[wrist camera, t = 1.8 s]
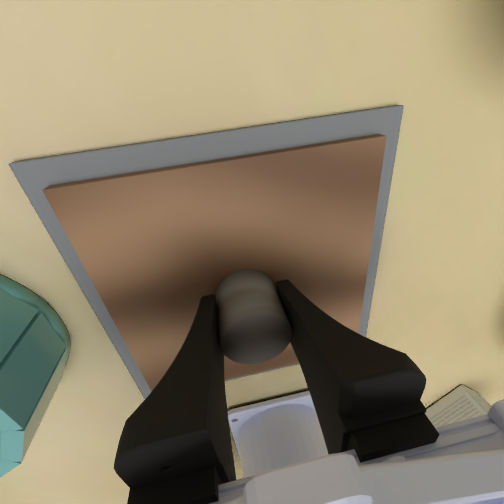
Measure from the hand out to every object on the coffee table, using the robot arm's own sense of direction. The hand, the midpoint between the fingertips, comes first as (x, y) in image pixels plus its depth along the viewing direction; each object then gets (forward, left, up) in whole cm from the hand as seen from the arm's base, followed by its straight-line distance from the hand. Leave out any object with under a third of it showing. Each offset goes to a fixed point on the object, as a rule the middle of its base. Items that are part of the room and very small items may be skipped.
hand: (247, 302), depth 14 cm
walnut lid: (0, 0, -1) cm, 1 cm away
